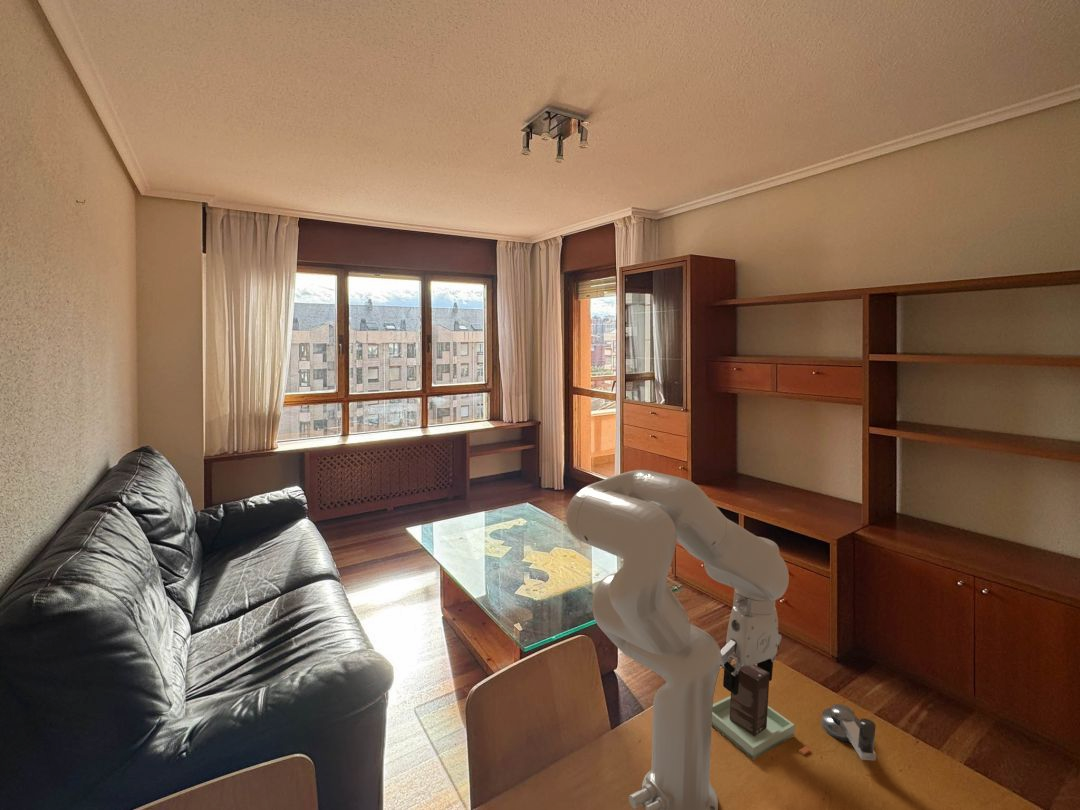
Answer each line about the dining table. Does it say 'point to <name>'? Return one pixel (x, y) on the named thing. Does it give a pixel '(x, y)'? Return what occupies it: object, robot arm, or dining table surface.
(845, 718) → the crank
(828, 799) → the dining table surface
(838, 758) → the dining table surface
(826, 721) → the crank base
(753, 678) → the box
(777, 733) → the tray
